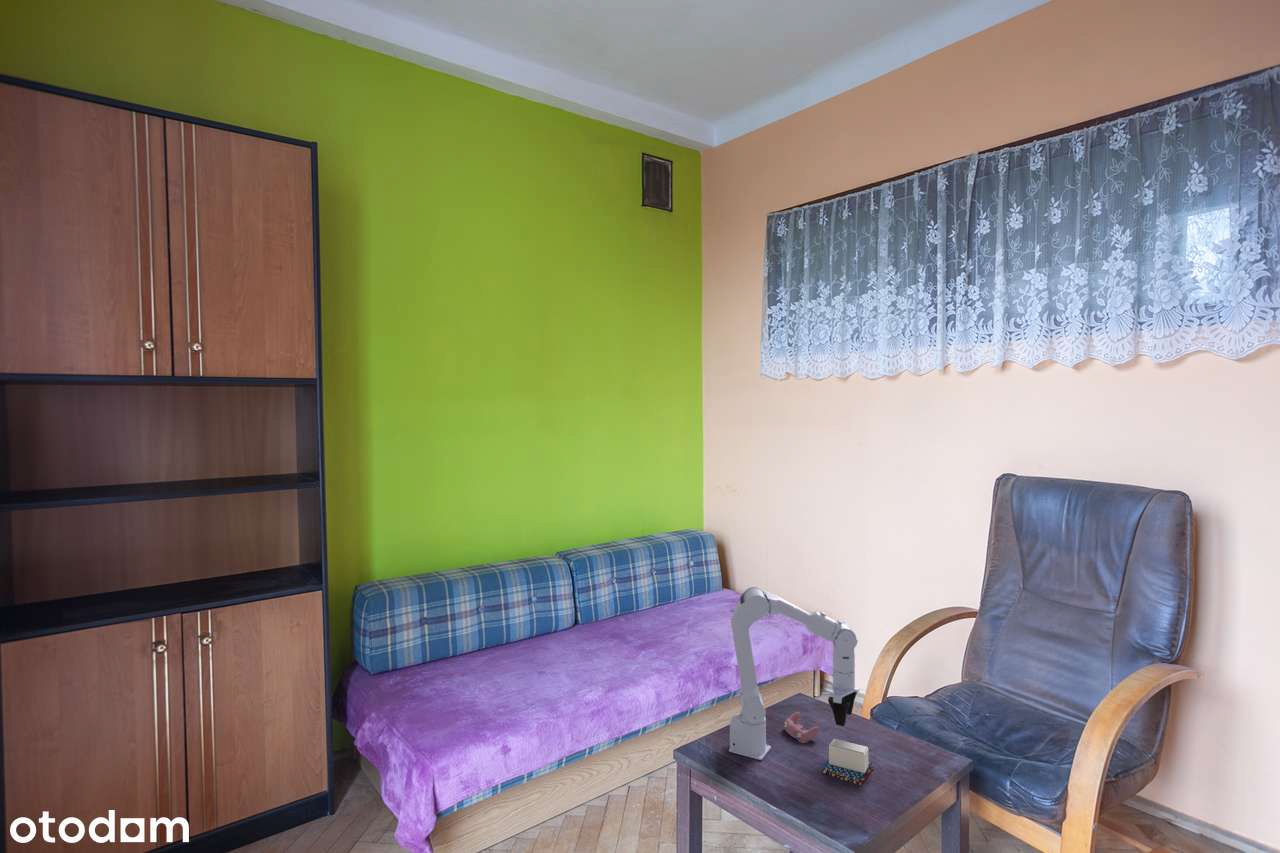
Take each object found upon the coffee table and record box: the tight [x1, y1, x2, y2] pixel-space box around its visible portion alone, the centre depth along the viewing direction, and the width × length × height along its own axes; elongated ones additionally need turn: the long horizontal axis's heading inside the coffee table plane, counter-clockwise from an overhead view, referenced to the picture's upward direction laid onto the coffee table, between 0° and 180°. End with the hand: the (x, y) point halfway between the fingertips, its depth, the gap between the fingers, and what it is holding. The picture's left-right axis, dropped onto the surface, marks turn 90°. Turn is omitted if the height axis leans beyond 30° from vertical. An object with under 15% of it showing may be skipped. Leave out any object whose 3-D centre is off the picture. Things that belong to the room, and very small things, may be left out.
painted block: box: [828, 738, 869, 773], centre depth 172 cm, size 4×9×5 cm, turn 59°
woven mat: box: [821, 760, 874, 786], centre depth 172 cm, size 10×11×2 cm
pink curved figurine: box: [783, 711, 820, 744], centre depth 191 cm, size 10×5×7 cm
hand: (843, 719), depth 181 cm, fingers open, 7 cm apart
